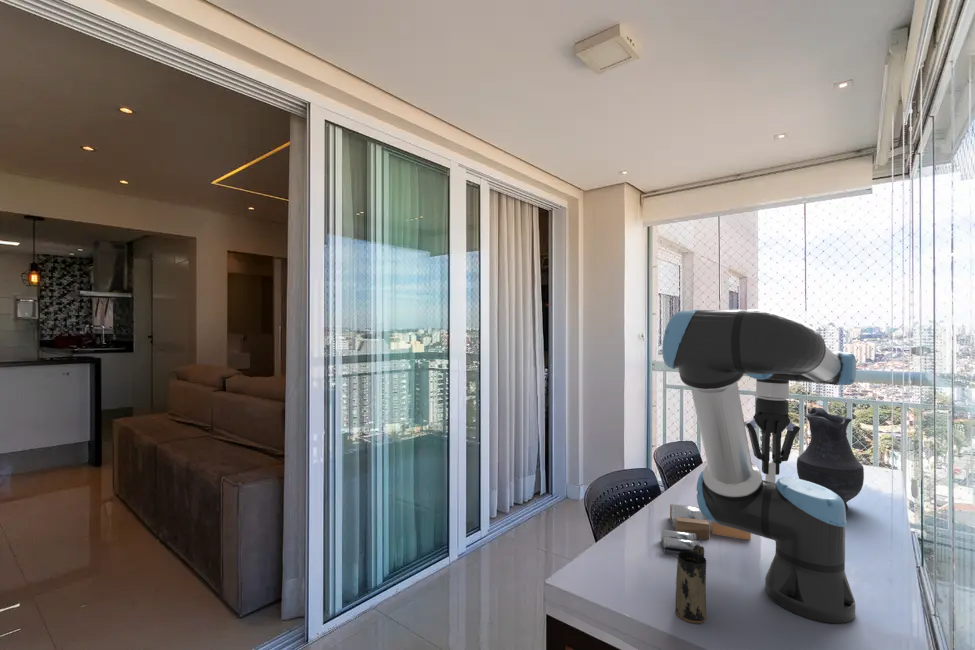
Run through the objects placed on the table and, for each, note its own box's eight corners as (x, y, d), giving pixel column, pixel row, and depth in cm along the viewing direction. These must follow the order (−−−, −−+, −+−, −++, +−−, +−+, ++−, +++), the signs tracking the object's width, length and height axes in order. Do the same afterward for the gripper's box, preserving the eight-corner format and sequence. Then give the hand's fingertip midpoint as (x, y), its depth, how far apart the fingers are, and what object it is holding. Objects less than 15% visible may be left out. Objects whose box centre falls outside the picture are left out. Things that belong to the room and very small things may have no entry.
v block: (694, 545, 117) (694, 531, 117) (700, 558, 110) (700, 544, 110) (661, 540, 119) (661, 527, 119) (664, 553, 112) (665, 539, 112)
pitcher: (809, 511, 141) (811, 414, 141) (783, 489, 161) (785, 403, 162) (875, 518, 137) (877, 418, 137) (840, 494, 157) (841, 406, 157)
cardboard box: (709, 539, 121) (709, 524, 121) (676, 535, 122) (677, 520, 123) (699, 521, 132) (699, 507, 132) (669, 517, 134) (670, 504, 134)
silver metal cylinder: (701, 526, 129) (701, 504, 130) (706, 533, 124) (706, 510, 124) (671, 523, 131) (671, 501, 132) (674, 530, 125) (675, 507, 126)
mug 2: (700, 628, 84) (701, 563, 84) (670, 615, 88) (671, 552, 88) (714, 610, 90) (715, 548, 90) (685, 598, 94) (687, 539, 94)
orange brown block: (750, 540, 121) (750, 521, 121) (712, 534, 124) (713, 516, 124) (747, 532, 126) (747, 514, 126) (710, 527, 129) (711, 509, 129)
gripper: (793, 397, 125) (791, 483, 125) (740, 394, 128) (739, 479, 128) (805, 401, 118) (803, 493, 118) (749, 398, 121) (747, 488, 121)
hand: (770, 486), depth 123 cm, fingers closed
